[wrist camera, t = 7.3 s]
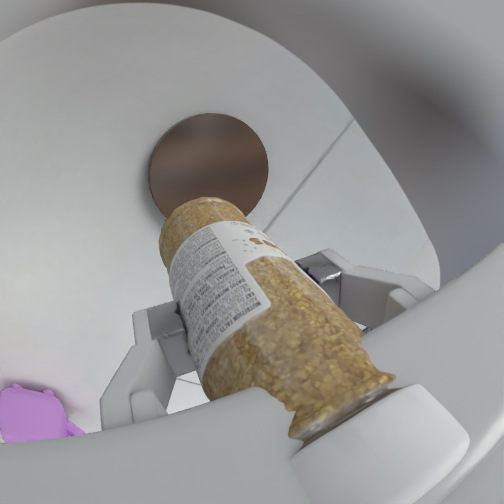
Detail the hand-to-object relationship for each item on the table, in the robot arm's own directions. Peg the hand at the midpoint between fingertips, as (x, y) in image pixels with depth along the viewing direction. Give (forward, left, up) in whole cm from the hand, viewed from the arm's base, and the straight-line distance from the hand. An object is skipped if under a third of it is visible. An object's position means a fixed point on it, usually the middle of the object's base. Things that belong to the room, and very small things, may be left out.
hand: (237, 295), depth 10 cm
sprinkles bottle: (0, 0, -5) cm, 5 cm away
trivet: (+2, +5, -26) cm, 26 cm away
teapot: (+30, -36, -26) cm, 53 cm away
